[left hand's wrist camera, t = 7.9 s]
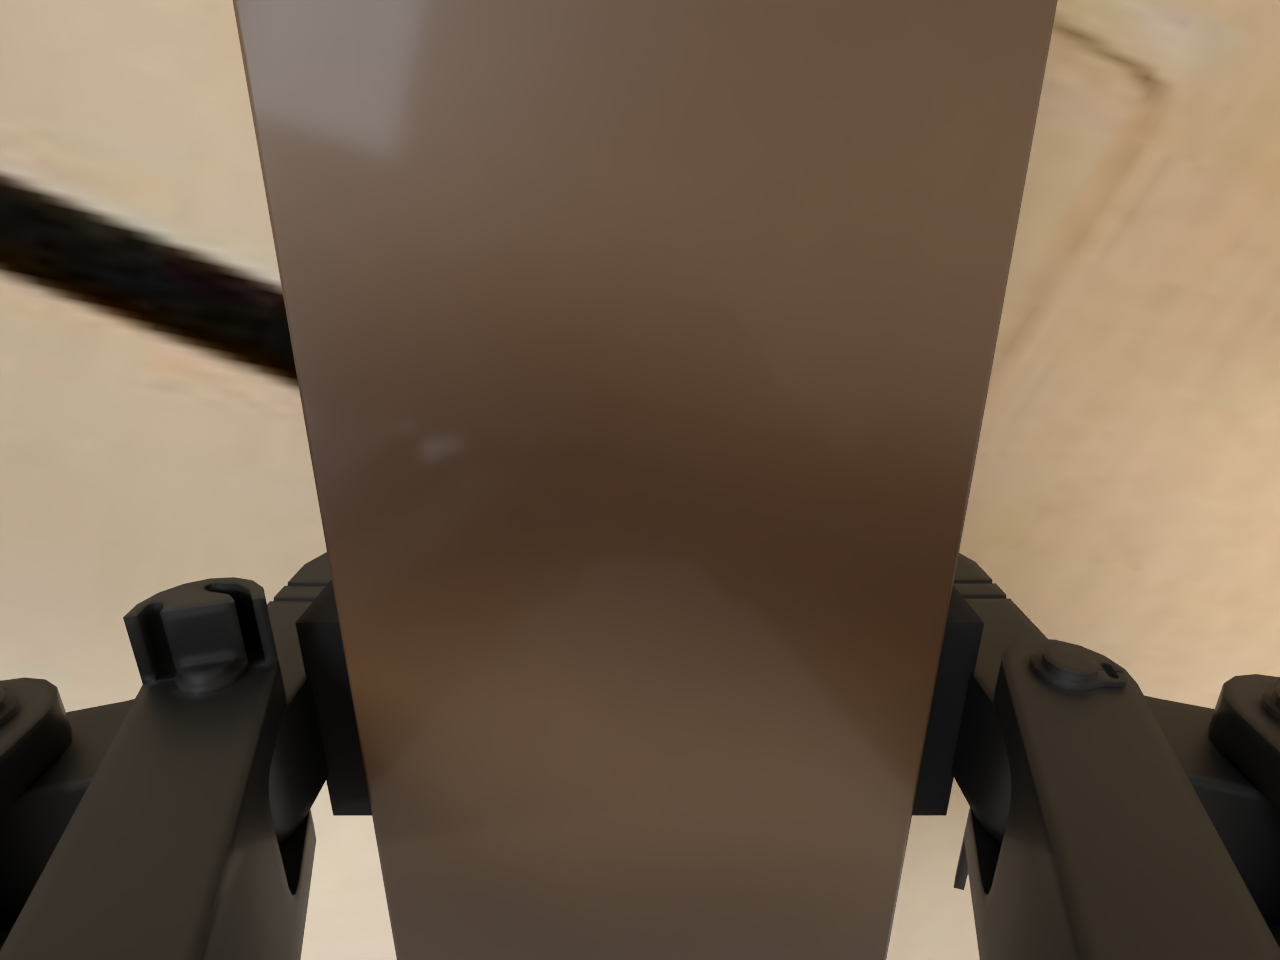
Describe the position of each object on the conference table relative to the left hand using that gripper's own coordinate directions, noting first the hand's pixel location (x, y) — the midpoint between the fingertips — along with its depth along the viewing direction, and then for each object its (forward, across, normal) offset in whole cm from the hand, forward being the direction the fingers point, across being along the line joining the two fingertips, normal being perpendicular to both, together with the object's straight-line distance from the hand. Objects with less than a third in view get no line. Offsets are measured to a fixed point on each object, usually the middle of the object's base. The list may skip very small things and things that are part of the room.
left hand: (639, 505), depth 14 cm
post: (0, 0, -21) cm, 21 cm away
